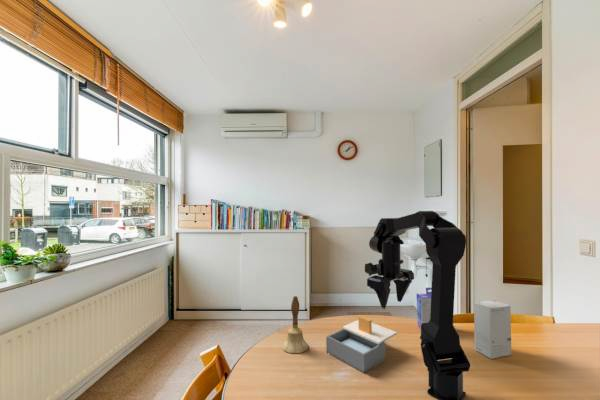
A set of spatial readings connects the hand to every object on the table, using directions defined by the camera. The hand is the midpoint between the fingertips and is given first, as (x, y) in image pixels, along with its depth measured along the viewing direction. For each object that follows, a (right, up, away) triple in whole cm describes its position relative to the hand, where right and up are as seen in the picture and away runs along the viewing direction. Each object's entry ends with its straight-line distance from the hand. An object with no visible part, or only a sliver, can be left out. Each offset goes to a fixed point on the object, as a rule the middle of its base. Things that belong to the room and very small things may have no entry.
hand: (391, 304), depth 93 cm
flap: (-8, -7, -3) cm, 11 cm away
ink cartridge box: (+18, -13, +10) cm, 24 cm away
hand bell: (-31, -13, -2) cm, 34 cm away
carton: (-13, -13, -7) cm, 20 cm away
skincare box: (+29, -12, -6) cm, 32 cm away
